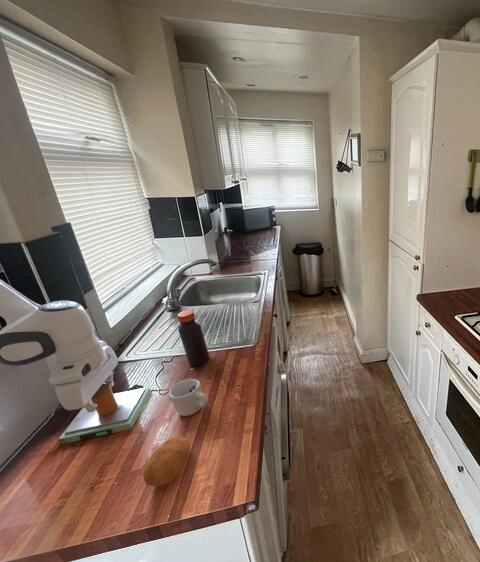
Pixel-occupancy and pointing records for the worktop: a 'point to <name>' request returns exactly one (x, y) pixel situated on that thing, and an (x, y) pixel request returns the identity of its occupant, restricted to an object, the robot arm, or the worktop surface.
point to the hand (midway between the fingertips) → (102, 398)
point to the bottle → (192, 339)
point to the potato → (166, 462)
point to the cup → (187, 397)
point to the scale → (107, 417)
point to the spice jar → (104, 400)
